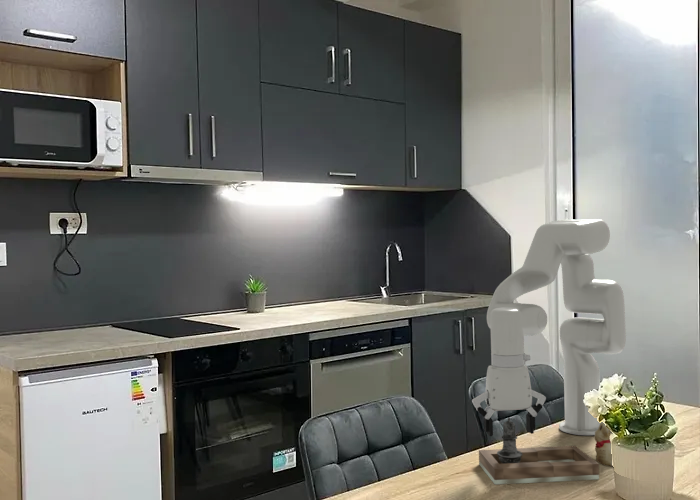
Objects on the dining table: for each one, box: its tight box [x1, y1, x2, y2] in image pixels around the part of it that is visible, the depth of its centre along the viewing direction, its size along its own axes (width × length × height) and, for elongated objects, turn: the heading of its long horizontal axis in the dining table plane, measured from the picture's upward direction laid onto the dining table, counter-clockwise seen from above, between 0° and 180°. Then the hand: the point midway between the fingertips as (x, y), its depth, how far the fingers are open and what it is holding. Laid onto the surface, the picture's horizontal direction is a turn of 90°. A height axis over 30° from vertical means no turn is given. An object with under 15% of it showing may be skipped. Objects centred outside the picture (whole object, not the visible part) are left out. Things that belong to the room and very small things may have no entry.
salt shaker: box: [497, 417, 523, 464], centre depth 168 cm, size 6×6×12 cm
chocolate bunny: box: [594, 422, 613, 467], centre depth 175 cm, size 6×8×10 cm
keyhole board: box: [478, 445, 600, 485], centre depth 168 cm, size 24×14×4 cm, turn 94°
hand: (509, 433), depth 168 cm, fingers open, 9 cm apart
